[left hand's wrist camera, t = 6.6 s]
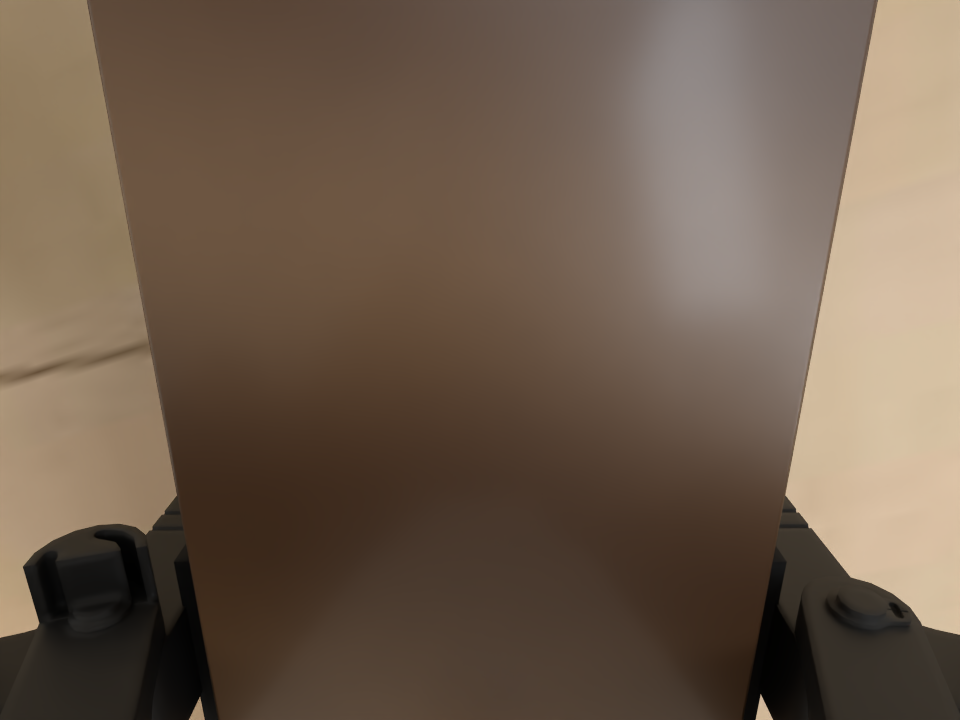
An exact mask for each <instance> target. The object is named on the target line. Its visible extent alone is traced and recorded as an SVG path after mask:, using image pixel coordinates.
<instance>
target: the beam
mask: <svg viewBox="0 0 960 720" xmlns="http://www.w3.org/2000/svg"><path fill="white" fill-rule="evenodd" d="M877 2H878V0H87V3H88V9H89V14H90V20H91V25H92V30H93V36H94V41H95V47H96V52H97V58H98V63H99V69H100V74H101V80H102V85H103V91H104V96H105V102H106V107H107V113H108V118H109V124H110V129H111V135H112V140H113V146H114V151H115V157H116V162H117V168H118V173H119V179H120V184H121V190H122V195H123V201H124V206H125V212H126V217H127V222H128V228H129V233H130V239H131V244H132V250H133V255H134V261H135V266H136V272H137V277H138V283H139V288H140V294H141V299H142V305H143V310H144V316H145V321H146V327H147V332H148V338H149V343H150V349H151V354H152V360H153V365H154V371H155V376H156V382H157V387H158V393H159V398H160V404H161V409H162V414H163V420H164V425H165V431H166V436H167V442H168V447H169V453H170V458H171V464H172V469H173V475H174V480H175V486H176V491H177V497H178V502H179V508H180V513H181V519H182V524H183V530H184V535H185V541H186V546H187V552H188V557H189V563H190V568H191V574H192V579H193V585H194V590H195V596H196V601H197V606H198V612H199V617H200V623H201V628H202V634H203V639H204V645H205V650H206V656H207V661H208V667H209V672H210V678H211V683H212V689H213V694H214V700H215V705H216V711H217V716H218V720H743V717H744V712H745V706H746V701H747V696H748V690H749V685H750V680H751V674H752V669H753V664H754V658H755V653H756V648H757V642H758V637H759V632H760V626H761V621H762V616H763V610H764V605H765V600H766V594H767V589H768V584H769V578H770V573H771V568H772V562H773V557H774V552H775V546H776V541H777V536H778V530H779V525H780V520H781V514H782V509H783V504H784V498H785V493H786V487H787V482H788V477H789V471H790V466H791V461H792V455H793V450H794V445H795V439H796V434H797V429H798V423H799V418H800V413H801V407H802V402H803V397H804V391H805V386H806V381H807V375H808V370H809V365H810V359H811V354H812V349H813V343H814V338H815V333H816V327H817V322H818V317H819V311H820V306H821V301H822V295H823V290H824V285H825V279H826V274H827V269H828V263H829V258H830V253H831V247H832V242H833V237H834V231H835V226H836V220H837V215H838V210H839V204H840V199H841V194H842V188H843V183H844V178H845V172H846V167H847V162H848V156H849V151H850V146H851V140H852V135H853V130H854V124H855V119H856V114H857V108H858V103H859V98H860V92H861V87H862V82H863V76H864V71H865V66H866V60H867V55H868V50H869V44H870V39H871V34H872V28H873V23H874V18H875V12H876V7H877Z"/></svg>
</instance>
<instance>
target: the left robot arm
mask: <svg viewBox="0 0 960 720" xmlns="http://www.w3.org/2000/svg"><path fill="white" fill-rule="evenodd" d="M23 569H24V572H25V576H26V579H27V582H28V586H29V589H30V592H31V596H32V599H33V603H34V606H35V609H36V613H37V616H38V619H39V626H38V628H37V629H35V630H32V631H28V632H25V633H20V634H16V635H11V636H6V637H2V638H0V720H189V718H190V716H191V714H192V712H193V710H194V708H195V706H196V704H197V701H198V699H199V697H201V702H202V707H203V712H204V717H205V720H218V716H217V711H216V705H215V700H214V694H213V689H212V683H211V678H210V672H209V667H208V661H207V656H206V650H205V645H204V639H203V634H202V628H201V623H200V617H199V612H198V606H197V601H196V596H195V590H194V585H193V579H192V574H191V568H190V563H189V557H188V552H187V546H186V541H185V535H184V530H183V524H182V519H181V513H180V508H179V502H178V497H177V496H176V498H175V499H174V500H173V501H172V503H171V504H170V505H169V507H168V508H167V509H166V510H165V515H161V517H160V518H159V519H158V520H157V522H156V523H155V524H154V526H153V530H152V531H149V532H148V533H147V534H146V535H145V534H144V533H143V532H141V531H140V530H139V529H137V528H136V527H132V526H127V525H122V524H110V525H97V526H93V527H89V528H85V529H81V530H77V531H74V532H72V533H69V534H67V535H65V536H62V537H60V538H58V539H55V540H53V541H52V542H50V543H49V544H47V545H46V546H44V547H43V548H41V549H40V550H38V551H37V552H35V553H34V554H33V555H32V557H31V558H30V559H29V560H28V561H27V563H26V564H25V565H24V566H23ZM760 694H761V695H762V697H763V699H764V702H765V704H766V706H767V708H768V710H769V712H770V714H771V716H772V718H773V720H960V635H958V634H953V633H948V632H944V631H939V630H935V629H932V628H928V627H924V626H922V624H921V622H920V621H919V619H918V618H917V617H916V615H915V614H914V612H913V611H912V610H911V608H910V607H909V606H907V605H906V604H905V603H904V602H902V601H901V600H900V599H898V598H897V597H896V596H895V595H893V594H892V593H890V592H888V591H886V590H884V589H882V588H880V587H878V586H876V585H874V584H872V583H868V582H865V581H861V580H858V579H854V578H850V576H849V575H848V574H847V573H846V571H845V570H844V569H843V567H842V566H841V565H840V564H839V562H838V561H837V560H836V559H835V557H834V556H833V555H832V554H831V552H830V551H829V550H828V549H827V547H826V546H825V545H824V544H823V542H822V541H821V540H820V539H819V537H818V536H817V535H816V534H815V532H814V531H813V530H812V528H808V523H807V522H806V521H805V520H804V518H803V517H802V516H801V515H800V513H796V508H795V507H794V506H793V505H792V503H791V502H790V501H789V500H788V498H787V497H786V496H785V498H784V504H783V509H782V514H781V520H780V525H779V530H778V536H777V541H776V546H775V552H774V557H773V562H772V568H771V573H770V578H769V584H768V589H767V594H766V600H765V605H764V610H763V616H762V621H761V626H760V632H759V637H758V642H757V648H756V653H755V658H754V664H753V669H752V674H751V680H750V685H749V690H748V696H747V701H746V706H745V712H744V717H743V720H756V714H757V709H758V704H759V699H760Z"/></svg>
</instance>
